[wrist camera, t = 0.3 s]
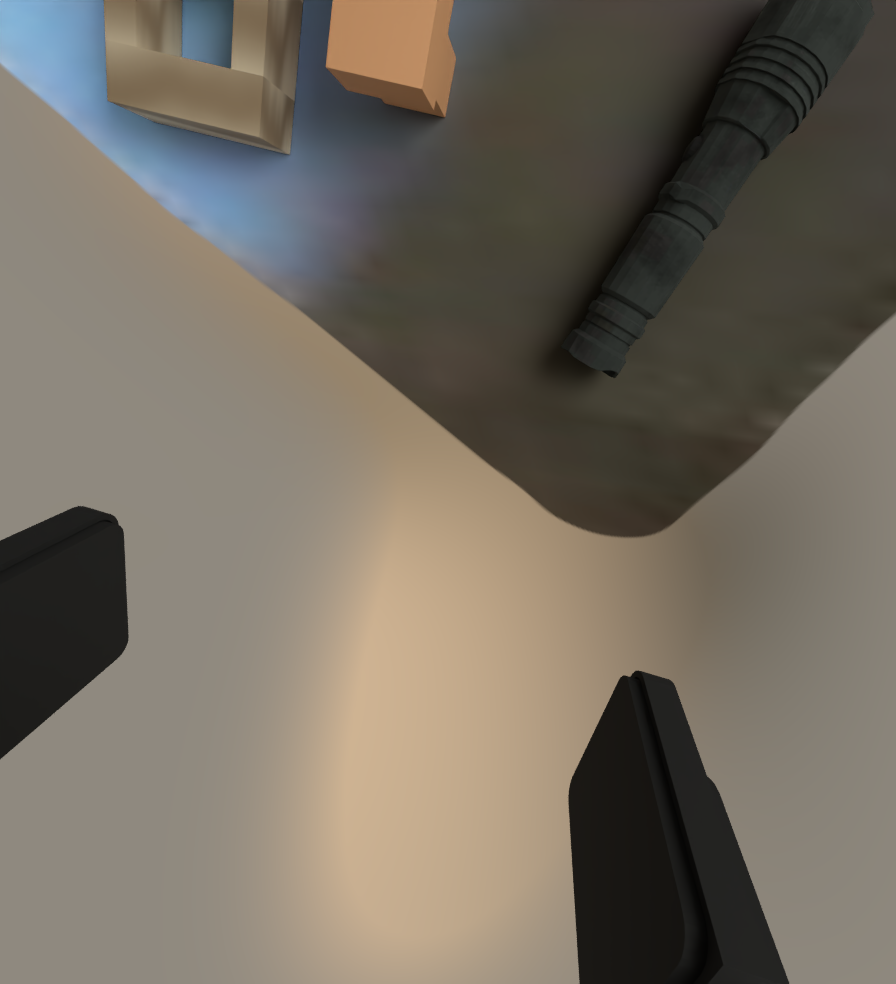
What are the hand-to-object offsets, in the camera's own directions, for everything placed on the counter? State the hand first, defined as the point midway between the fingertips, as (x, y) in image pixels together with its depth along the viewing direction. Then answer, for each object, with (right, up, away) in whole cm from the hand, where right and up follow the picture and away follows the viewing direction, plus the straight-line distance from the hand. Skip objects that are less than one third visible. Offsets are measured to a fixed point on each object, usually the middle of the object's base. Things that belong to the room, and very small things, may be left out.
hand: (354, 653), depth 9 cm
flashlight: (+16, +21, +22) cm, 34 cm away
